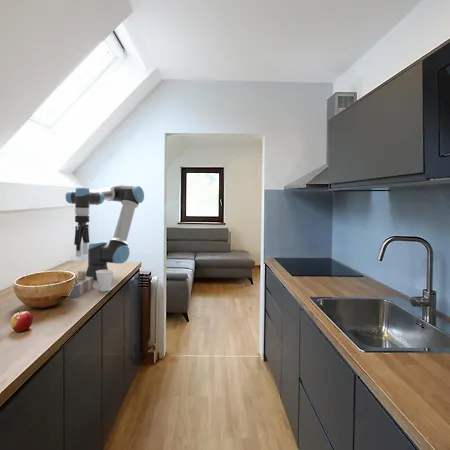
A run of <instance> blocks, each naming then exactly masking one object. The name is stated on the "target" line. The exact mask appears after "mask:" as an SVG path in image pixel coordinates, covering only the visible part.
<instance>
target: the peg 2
mask: <svg viewBox="0 0 450 450" xmlns="http://www.w3.org/2000/svg"><path fill="white" fill-rule="evenodd" d="M85 274H86V271H85V270H78V271H77V277H78V280H85Z"/></svg>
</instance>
